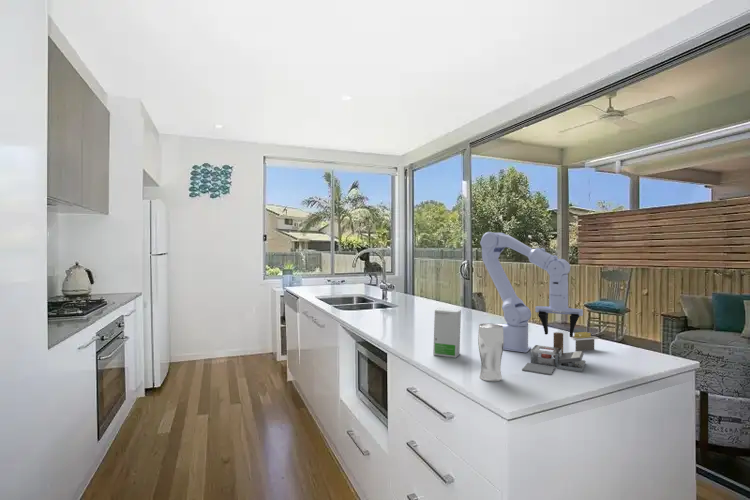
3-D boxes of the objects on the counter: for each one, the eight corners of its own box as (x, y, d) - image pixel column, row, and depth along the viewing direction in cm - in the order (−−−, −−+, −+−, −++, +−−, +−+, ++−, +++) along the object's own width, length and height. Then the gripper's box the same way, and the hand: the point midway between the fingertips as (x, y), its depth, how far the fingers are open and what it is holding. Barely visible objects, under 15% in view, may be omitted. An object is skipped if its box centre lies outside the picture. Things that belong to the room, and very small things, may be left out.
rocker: (559, 363, 123) (558, 359, 124) (563, 356, 131) (562, 352, 131) (580, 361, 120) (579, 357, 120) (583, 354, 128) (582, 350, 128)
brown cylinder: (552, 357, 136) (552, 333, 136) (554, 355, 138) (554, 332, 138) (562, 358, 134) (562, 334, 134) (563, 356, 137) (563, 333, 136)
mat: (522, 370, 121) (522, 369, 121) (527, 363, 128) (527, 362, 128) (550, 375, 117) (550, 373, 117) (555, 368, 124) (555, 366, 124)
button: (540, 357, 130) (540, 352, 130) (541, 355, 133) (541, 350, 133) (550, 359, 128) (550, 354, 128) (552, 356, 131) (552, 351, 131)
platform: (550, 348, 149) (550, 330, 149) (591, 345, 154) (591, 328, 154) (574, 356, 138) (574, 337, 138) (617, 353, 142) (617, 334, 142)
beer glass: (488, 383, 110) (489, 328, 109) (473, 376, 116) (473, 324, 116) (509, 380, 112) (509, 326, 112) (492, 373, 119) (492, 322, 119)
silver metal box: (529, 364, 128) (529, 351, 128) (535, 356, 136) (535, 345, 136) (582, 372, 120) (582, 358, 120) (585, 363, 128) (585, 351, 128)
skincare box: (432, 355, 138) (433, 310, 138) (437, 350, 144) (437, 307, 144) (457, 358, 135) (457, 311, 134) (461, 353, 141) (461, 308, 141)
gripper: (533, 294, 136) (533, 334, 136) (581, 297, 129) (581, 340, 129) (537, 292, 142) (537, 331, 142) (583, 295, 135) (583, 335, 135)
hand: (558, 335), depth 136 cm, fingers open, 7 cm apart
